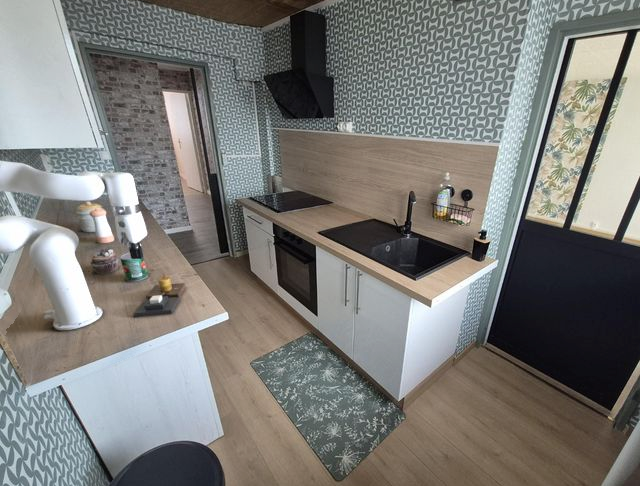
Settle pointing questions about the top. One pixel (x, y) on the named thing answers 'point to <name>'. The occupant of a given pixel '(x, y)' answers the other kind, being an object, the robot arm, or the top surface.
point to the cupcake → (104, 261)
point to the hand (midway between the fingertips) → (137, 257)
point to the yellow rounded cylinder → (165, 283)
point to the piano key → (155, 299)
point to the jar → (87, 216)
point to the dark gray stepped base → (157, 307)
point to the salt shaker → (101, 226)
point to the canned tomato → (133, 268)
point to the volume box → (174, 292)
